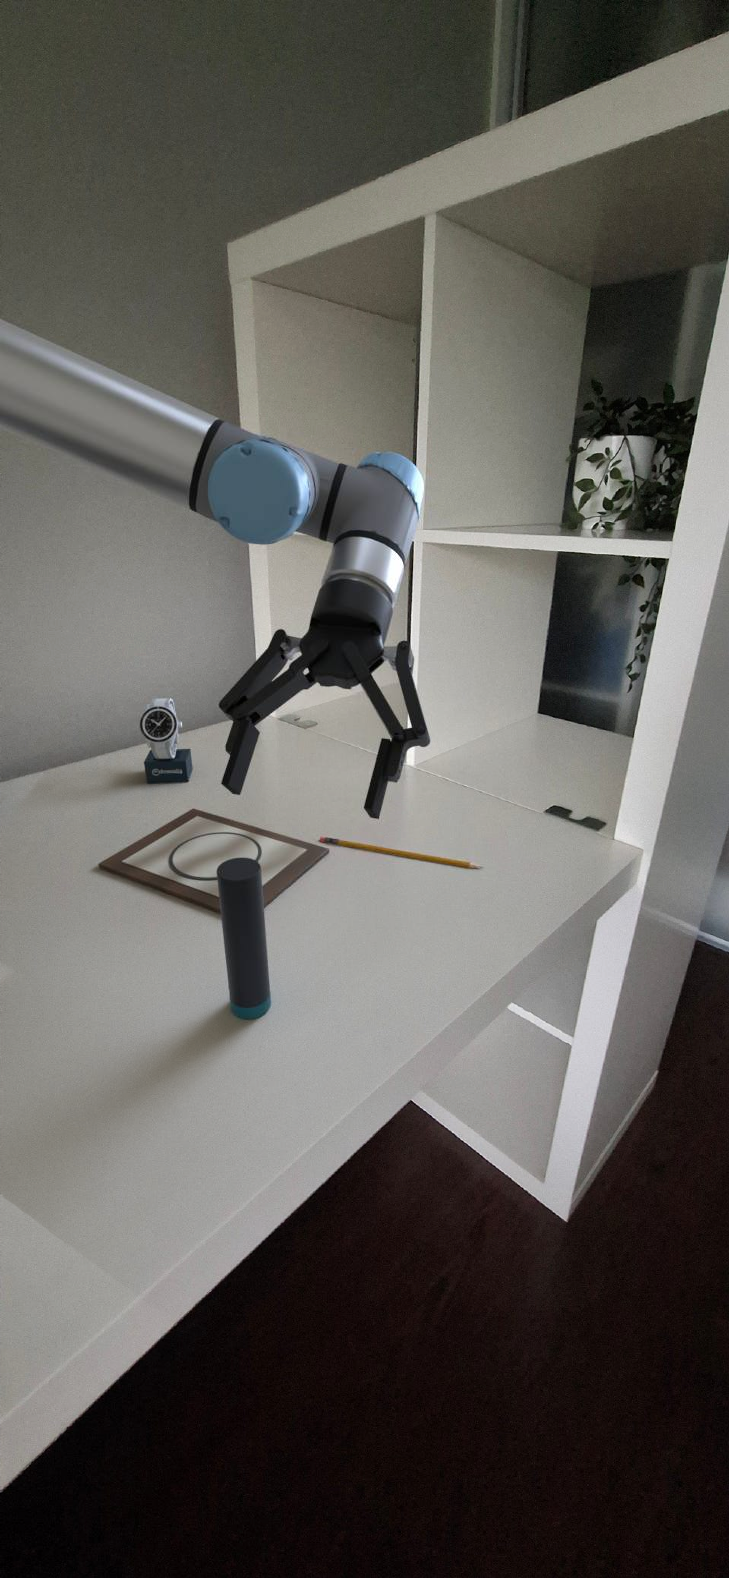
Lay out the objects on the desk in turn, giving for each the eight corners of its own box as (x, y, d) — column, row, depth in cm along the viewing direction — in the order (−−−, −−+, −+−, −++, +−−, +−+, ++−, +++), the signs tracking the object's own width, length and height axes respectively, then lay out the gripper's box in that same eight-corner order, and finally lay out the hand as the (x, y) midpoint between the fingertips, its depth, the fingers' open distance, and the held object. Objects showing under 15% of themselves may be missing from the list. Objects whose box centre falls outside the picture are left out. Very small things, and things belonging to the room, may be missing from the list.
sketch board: (98, 867, 74) (97, 862, 74) (193, 811, 86) (192, 806, 86) (246, 923, 65) (245, 917, 65) (329, 852, 77) (329, 846, 77)
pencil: (319, 843, 80) (319, 837, 79) (321, 840, 80) (321, 834, 80) (482, 872, 74) (483, 866, 74) (483, 869, 75) (484, 862, 74)
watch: (144, 789, 92) (132, 711, 87) (155, 765, 99) (145, 691, 94) (186, 788, 92) (177, 710, 87) (195, 764, 99) (186, 690, 94)
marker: (222, 1010, 55) (206, 873, 49) (247, 985, 58) (235, 852, 52) (254, 1024, 54) (242, 885, 48) (278, 999, 56) (270, 864, 51)
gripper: (486, 631, 67) (441, 837, 61) (256, 611, 74) (195, 794, 68) (481, 583, 60) (429, 810, 54) (228, 567, 67) (157, 765, 61)
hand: (298, 801), depth 61 cm, fingers open, 13 cm apart
